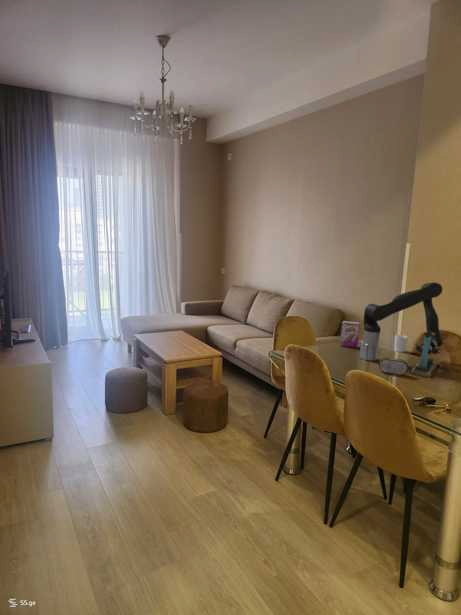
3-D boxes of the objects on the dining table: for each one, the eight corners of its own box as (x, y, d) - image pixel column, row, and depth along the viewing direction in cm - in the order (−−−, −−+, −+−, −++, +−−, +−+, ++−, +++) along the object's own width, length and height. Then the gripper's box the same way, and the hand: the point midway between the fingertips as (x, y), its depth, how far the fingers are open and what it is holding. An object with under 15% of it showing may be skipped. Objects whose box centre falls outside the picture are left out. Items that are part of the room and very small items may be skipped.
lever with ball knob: (428, 371, 236) (433, 332, 232) (416, 368, 239) (422, 330, 235) (431, 366, 246) (436, 328, 242) (419, 364, 249) (425, 327, 245)
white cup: (406, 350, 285) (408, 336, 283) (405, 353, 278) (407, 338, 276) (393, 348, 288) (395, 334, 286) (392, 351, 281) (394, 336, 279)
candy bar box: (339, 346, 285) (342, 322, 283) (339, 344, 290) (342, 320, 287) (357, 348, 283) (360, 323, 280) (356, 346, 288) (359, 322, 285)
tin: (407, 375, 232) (409, 360, 230) (407, 376, 229) (409, 361, 227) (377, 370, 237) (379, 355, 235) (377, 372, 234) (379, 357, 232)
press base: (429, 377, 229) (431, 369, 229) (410, 373, 235) (411, 365, 234) (437, 364, 256) (438, 356, 256) (419, 360, 261) (420, 353, 261)
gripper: (417, 337, 253) (412, 342, 238) (443, 342, 246) (439, 347, 231) (415, 349, 254) (410, 355, 240) (441, 354, 247) (437, 361, 232)
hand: (424, 351), depth 236 cm, fingers closed on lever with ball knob, 3 cm apart
